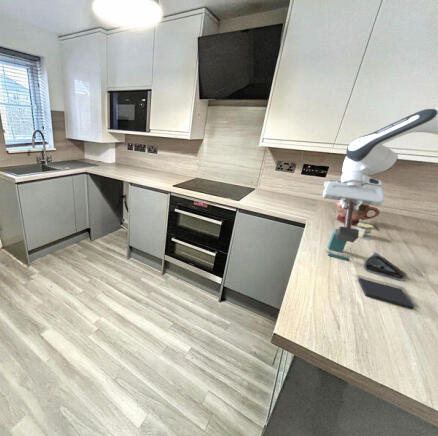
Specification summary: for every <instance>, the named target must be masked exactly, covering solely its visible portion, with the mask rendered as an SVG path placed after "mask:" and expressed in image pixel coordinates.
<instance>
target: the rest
mask: <svg viewBox="0 0 438 436" xmlns="http://www.w3.org/2000/svg"><path fill="white" fill-rule="evenodd" d="M337 230H338V228H334V230H333V232H332V233H331V237H330V240H329V242H328V245H327V249H328V250H330V251H334V252H338V253H343V252H344V249H345V247H346V245H347V242H348V241H344V240H339V239H335V235H336V231H337ZM327 256H328V257H332V258H335V259H341V260H344V261H350V257H348V256H344V255H340V254H335V253H331V252H328V254H327Z"/></svg>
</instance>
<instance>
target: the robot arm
mask: <svg viewBox="0 0 438 436" xmlns="http://www.w3.org/2000/svg"><path fill="white" fill-rule="evenodd" d="M413 133H424V134H425V133H426V134H433V135H437V136H438V107H434V108H426V109H422V110H419V111H417V112H414V113H412V114H410V115H407V116H405V117H403V118H401V119H399V120H396V121H394V122H392V123H390V124H388V125H386V126H384V127H381V128H380V129H378V130H375V131H373V132H371V133H368V134H364V135H362V136H358V137H357V138H355V139H353V140H352V141H351V142H350V143H349V144H348V145H347V147H346V152H345V153H346V154H345V155H346V156H345V158H344V161H343V162H342V168H341V173H342V174H341V176H340V180H334V179H328V180H325V181H324V182H323V187H324V188H323V191H322V198H323V199H326V200H333V201H338V202H340V204H341V205H342V209H347V206H348V204H345V202H344V201H346V202H349V201H352V202H354V203H356V205H357V206H355V205H354V207H353V211H357V210H358V207H359V206H360V205H361V204H366V205H369V206H372V207H378V206H380V205H382V204H383V203H384V201H385V192H384V188H383V187H382V185H383V181H381V180H380V179H375V178H373V177H371V176H374V175H378V174H380V173H384V172H387V171H389V170H391V169H392V168H393V167H394V166H395V165H396V163H397V161H398V158H399V156H398V153H396V152H394V151H393V150H392V149H390V148H389V147H387V146H386V145H384V144H387V143H389V142H391V141H393V140H395V139H398V138H400V137H403V136H405V135H408V134H413Z"/></svg>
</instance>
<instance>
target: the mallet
mask: <svg viewBox="0 0 438 436" xmlns="http://www.w3.org/2000/svg"><path fill="white" fill-rule="evenodd" d="M347 204H348V206H347V209H346V215H345V223H343V224H344V225H343V226H341V225H340V226H339V227H338V228H337V231H336V235H335V239H339V240H344V241H347V242H348V243H349V242H350V243H354V242H355V241H356V240H358V239H359V237H358V235H359V230H357V228H353V227H352V225H351V224H352V215H353V207H354V202H352V201H349V202H347Z"/></svg>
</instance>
